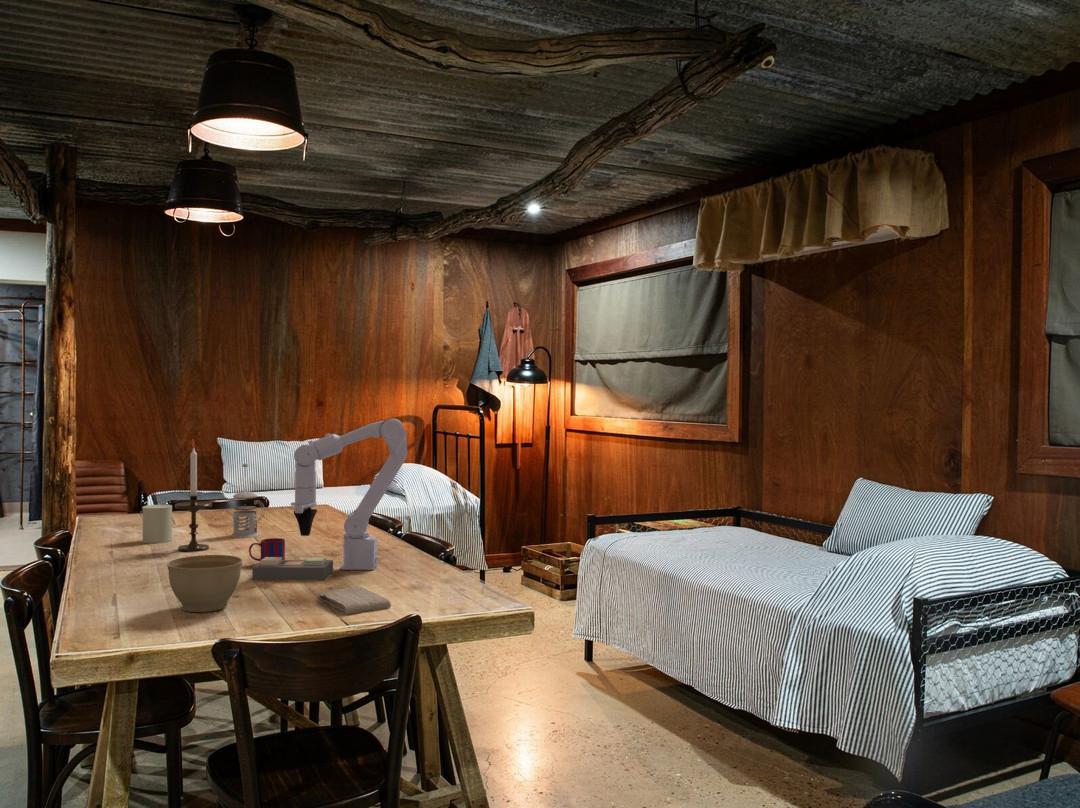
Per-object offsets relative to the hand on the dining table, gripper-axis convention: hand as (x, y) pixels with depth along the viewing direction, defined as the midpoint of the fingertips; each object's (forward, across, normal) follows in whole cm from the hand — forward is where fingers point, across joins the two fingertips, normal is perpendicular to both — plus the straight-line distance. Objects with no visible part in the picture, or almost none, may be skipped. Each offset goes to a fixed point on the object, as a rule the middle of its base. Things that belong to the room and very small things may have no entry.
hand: (305, 535), depth 246 cm
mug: (+10, -7, -13) cm, 18 cm away
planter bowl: (+10, +45, -11) cm, 47 cm away
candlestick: (+10, -29, -43) cm, 53 cm away
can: (+10, -44, -61) cm, 76 cm away
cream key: (+7, +10, -7) cm, 14 cm away
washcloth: (+10, +40, +22) cm, 47 cm away
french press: (+10, -56, -35) cm, 67 cm away
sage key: (+7, +10, +5) cm, 13 cm away
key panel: (+9, +10, 0) cm, 14 cm away
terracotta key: (+8, +10, 0) cm, 13 cm away
